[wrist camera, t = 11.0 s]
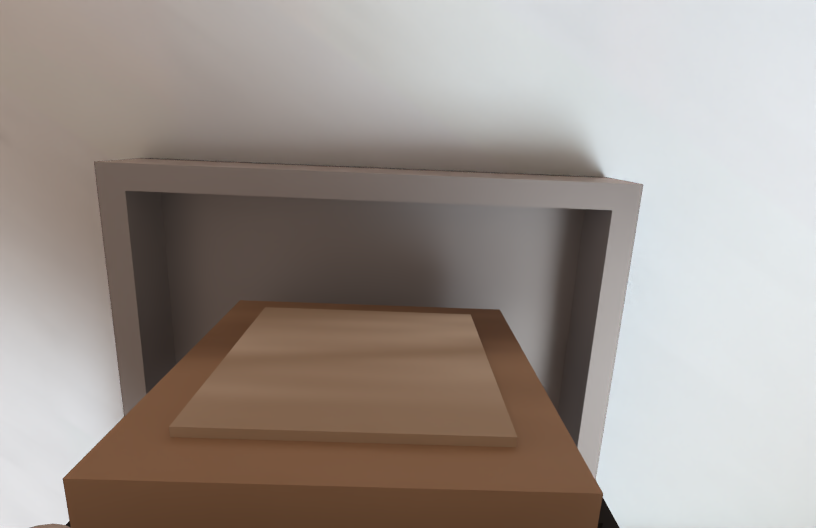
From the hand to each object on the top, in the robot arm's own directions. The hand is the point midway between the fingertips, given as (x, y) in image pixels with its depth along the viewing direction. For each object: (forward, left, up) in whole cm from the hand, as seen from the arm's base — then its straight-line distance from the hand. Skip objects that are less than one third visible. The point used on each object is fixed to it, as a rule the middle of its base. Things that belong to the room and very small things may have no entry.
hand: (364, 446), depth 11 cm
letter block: (0, 0, -1) cm, 1 cm away
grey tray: (0, 0, -3) cm, 3 cm away
